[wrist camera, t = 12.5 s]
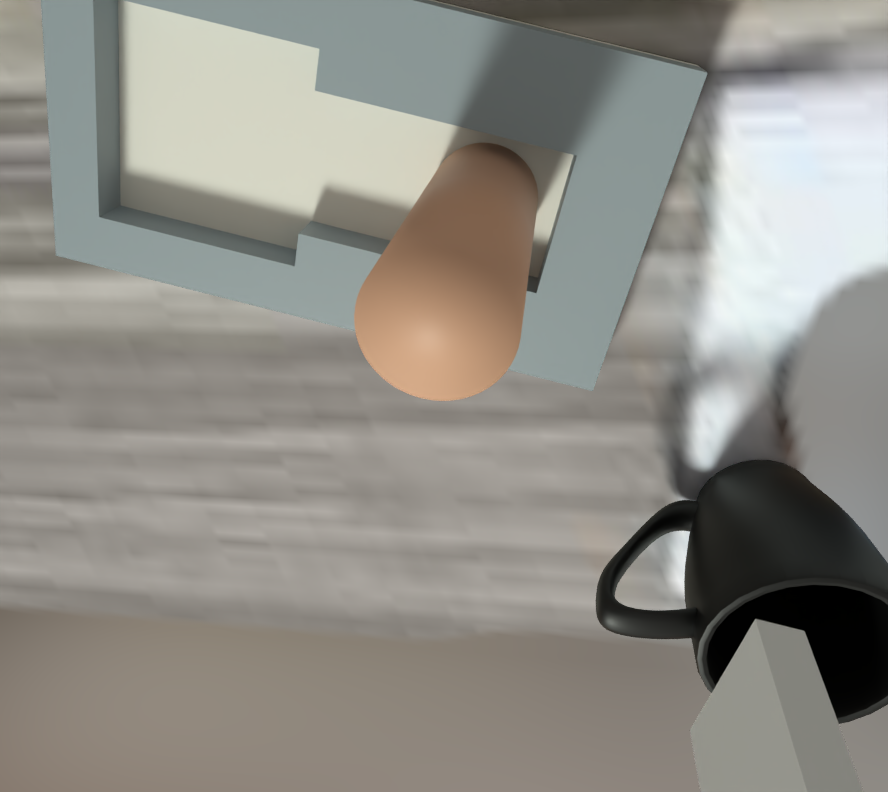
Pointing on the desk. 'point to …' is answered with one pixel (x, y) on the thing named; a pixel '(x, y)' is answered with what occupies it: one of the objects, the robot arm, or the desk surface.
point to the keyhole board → (351, 149)
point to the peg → (453, 279)
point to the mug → (768, 580)
